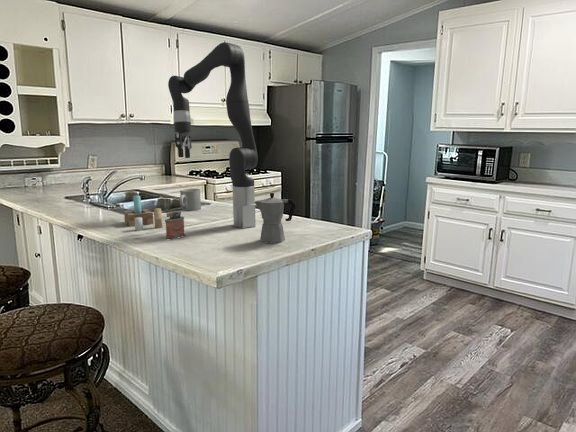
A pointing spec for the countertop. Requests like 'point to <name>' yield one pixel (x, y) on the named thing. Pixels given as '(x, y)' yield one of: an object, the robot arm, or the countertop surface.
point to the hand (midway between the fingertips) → (184, 157)
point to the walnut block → (145, 215)
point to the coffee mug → (190, 199)
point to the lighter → (174, 225)
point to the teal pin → (137, 204)
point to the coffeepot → (273, 218)
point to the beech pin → (158, 218)
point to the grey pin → (138, 224)
